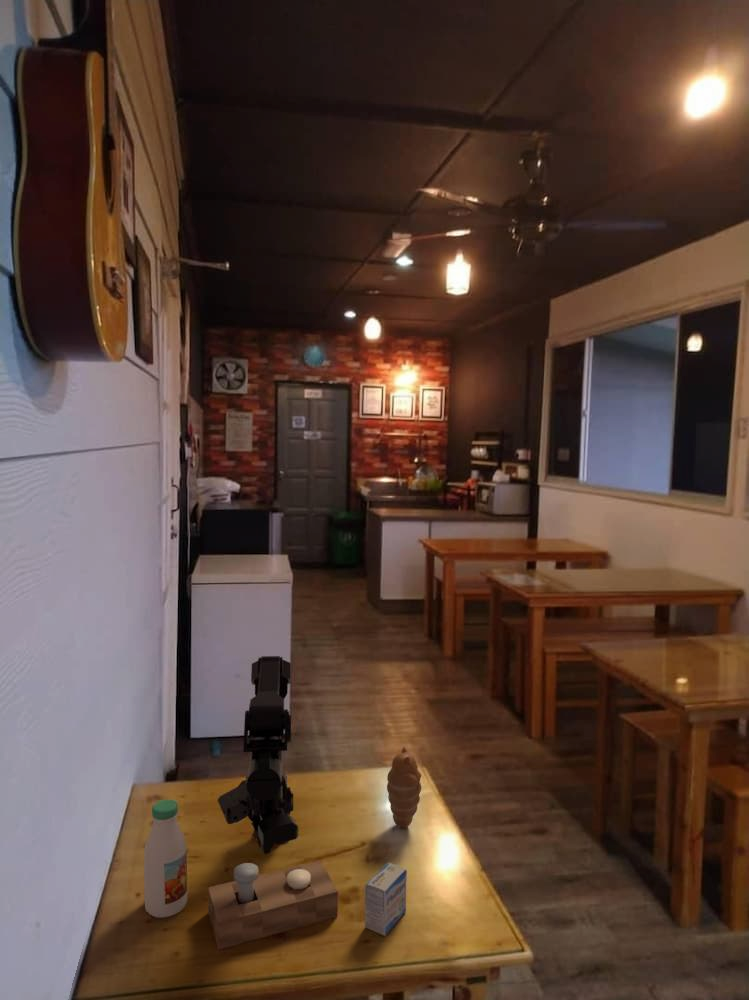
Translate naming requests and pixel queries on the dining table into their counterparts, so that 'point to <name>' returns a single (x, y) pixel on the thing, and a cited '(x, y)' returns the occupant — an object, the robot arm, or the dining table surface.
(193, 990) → the dining table surface
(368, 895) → the medicine box
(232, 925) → the walnut block
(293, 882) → the cream peg
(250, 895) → the grey peg
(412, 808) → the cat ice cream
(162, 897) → the milk bottle
